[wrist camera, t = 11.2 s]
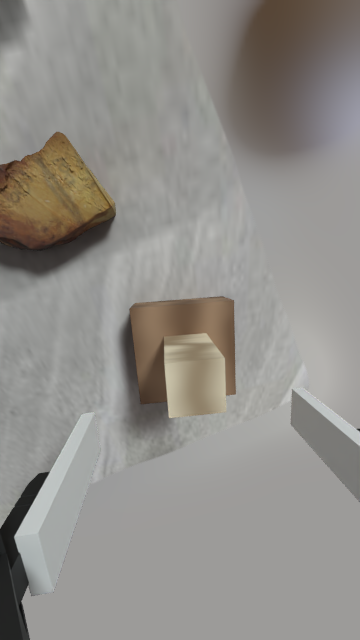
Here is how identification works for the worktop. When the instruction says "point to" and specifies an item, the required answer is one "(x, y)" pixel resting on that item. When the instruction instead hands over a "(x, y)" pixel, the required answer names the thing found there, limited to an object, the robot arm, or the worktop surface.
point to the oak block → (194, 376)
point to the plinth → (172, 321)
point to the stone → (50, 198)
